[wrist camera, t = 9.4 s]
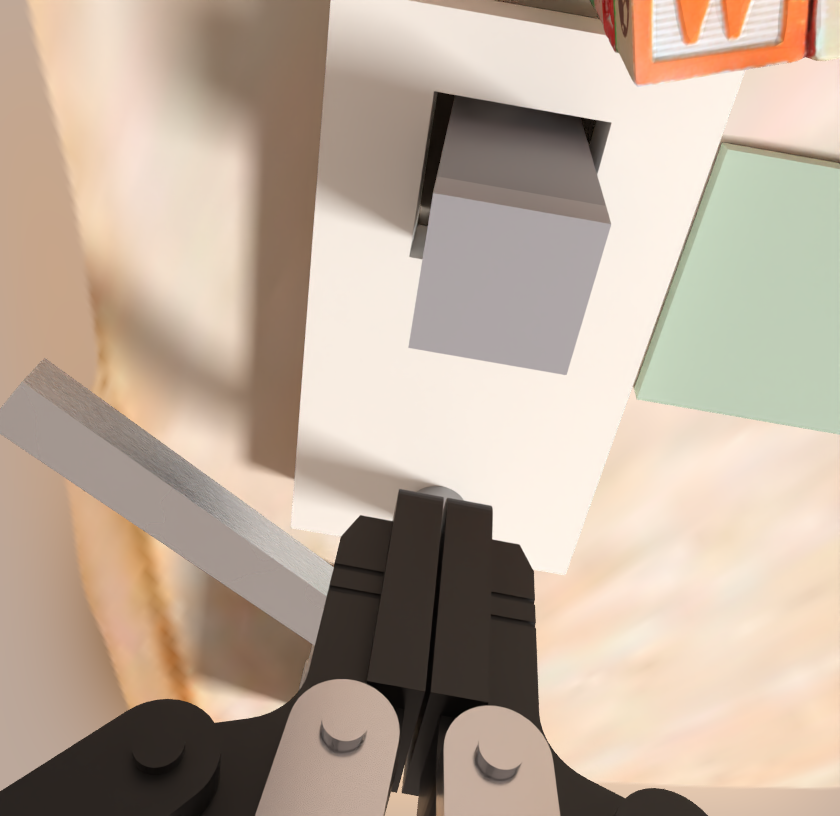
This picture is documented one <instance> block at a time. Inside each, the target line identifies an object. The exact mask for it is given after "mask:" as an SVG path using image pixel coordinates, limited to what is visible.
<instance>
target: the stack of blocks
mask: <svg viewBox="0 0 840 816" xmlns="http://www.w3.org/2000/svg"><path fill="white" fill-rule="evenodd" d="M590 1H591V4H592V5H593V7H594V8H595V10H597V13H598V15H599V17H600V20H601V22H602V24H603V26H604V31H605V34H606V36H607V38H609V42H610V44H611V46H612V48H613V50H614V52H616V53H619V54H620V56H621V58H622V60H623V62H624V64H625V67H626V69H627V71H628V73H629V75H630V77H631V79H632V81H633V83H634V84H635V85H636V86H637V87H642V86H649V85H656V84H663V83H669V82H675V81H680V80H686V79H692V78H698V77H704V76H710V75H716V74H722V73H728V72H735V71H742V70H748V69H753V68H760V67H766V66H772V65H779V64H785V63H791V62H795V61H798V60H800V59H802V58H804V57H807V58H810V59H813V60H816V61H828V60H833V59H838V58H840V0H590Z"/></svg>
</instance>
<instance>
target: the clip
mask: <svg viewBox="0 0 840 816" xmlns="http://www.w3.org/2000/svg"><path fill="white" fill-rule="evenodd" d="M0 434H1V435H2V436H4V437H5V438H7V439H8V440H10V441H11V442H13V443H14V444H16V445H18V446H19V447H20V448H22V449H23V450H25V451H26V452H28V453H29V454H31V455H32V456H34V457H35V458H37V459H38V460H40V461H41V462H42V463H44V464H46V465H47V466H48V467H50V468H51V469H53V470H54V471H56V472H57V473H59V474H60V475H62V476H63V477H65V478H66V479H68V480H69V481H71V482H72V483H74V484H75V485H77V486H78V487H80V488H81V489H83V490H84V491H86V492H87V493H89V494H90V495H92V496H93V497H94V498H96V499H97V500H99V501H100V502H102V503H103V504H105V505H106V506H108V507H109V508H111V509H112V510H114V511H115V512H117V513H118V514H120V515H121V516H123V517H124V518H126V519H127V520H129V521H130V522H132V523H133V524H135V525H136V526H138V527H139V528H141V529H142V530H144V531H145V532H146V533H148V534H149V535H151V536H152V537H154V538H155V539H157V540H158V541H160V542H161V543H163V544H164V545H166V546H167V547H169V548H170V549H172V550H173V551H175V552H176V553H178V554H179V555H181V556H182V557H184V558H185V559H187V560H188V561H190V562H191V563H193V564H194V565H196V566H197V567H198V568H200V569H201V570H203V571H204V572H206V573H207V574H209V575H210V576H212V577H213V578H215V579H216V580H218V581H219V582H221V583H222V584H224V585H225V586H227V587H228V588H230V589H231V590H233V591H234V592H236V593H237V594H239V595H240V596H242V597H243V598H245V599H246V600H247V601H249V602H250V603H252V604H253V605H255V606H256V607H258V608H259V609H261V610H262V611H264V612H265V613H267V614H268V615H270V616H271V617H273V618H274V619H276V620H277V621H279V622H280V623H282V624H283V625H285V626H286V627H288V628H289V629H291V630H292V631H294V632H295V633H297V634H298V635H299V636H301V637H302V638H304V639H305V640H307V641H308V642H310V643H311V644H313V645H314V646H315V643H316V638H317V634H318V630H319V626H320V622H321V618H322V614H323V610H324V605H325V601H326V597H327V593H328V590H329V585H330V581H331V576H332V572H333V568H334V567H333V566H331V565H330V564H329V563H327V562H326V561H324V560H323V559H322V558H320V557H319V556H318V555H316V554H315V553H313V552H312V551H311V550H309V549H308V548H307V547H305V546H304V545H302V544H301V543H300V542H298V541H297V540H295V539H294V538H293V537H291V536H290V535H289V534H287V533H286V532H284V531H283V530H282V529H280V528H279V527H277V526H276V525H275V524H273V523H272V522H271V521H269V520H268V519H266V518H265V517H264V516H262V515H261V514H260V513H258V512H257V511H255V510H254V509H253V508H251V507H250V506H248V505H247V504H246V503H244V502H243V501H242V500H240V499H239V498H237V497H236V496H235V495H233V494H232V493H231V492H229V491H228V490H226V489H225V488H224V487H222V486H221V485H219V484H218V483H217V482H215V481H214V480H213V479H211V478H210V477H208V476H207V475H206V474H204V473H203V472H201V471H200V470H199V469H197V468H196V467H195V466H193V465H192V464H190V463H189V462H188V461H186V460H185V459H184V458H182V457H181V456H179V455H178V454H177V453H175V452H174V451H172V450H171V449H170V448H168V447H167V446H166V445H164V444H163V443H161V442H160V441H159V440H157V439H156V438H155V437H153V436H152V435H150V434H149V433H148V432H146V431H145V430H143V429H142V428H141V427H139V426H138V425H137V424H135V423H134V422H132V421H131V420H130V419H128V418H127V417H126V416H124V415H123V414H121V413H120V412H119V411H117V410H116V409H114V408H113V407H112V406H110V405H109V404H108V403H106V402H105V401H103V400H102V399H101V398H99V397H98V396H96V395H95V394H94V393H92V392H91V391H90V390H88V389H87V388H85V387H84V386H83V385H81V384H80V383H78V382H77V381H76V380H74V379H73V378H72V377H70V376H69V375H67V374H66V373H65V372H63V371H62V370H60V369H59V368H58V367H56V366H55V365H54V364H52V363H51V362H50V361H48V360H47V359H45V358H44V359H43V360H42V361H41V362H40V363H39V364H38V365H37V366H36V367H35V369H34V370H33V371H32V372H31V373H30V374H29V375H28V376H27V377H26V378H25V379H24V380H23V381H22V382H21V384H20V385H19V386H18V387H17V389H16V390H15V391H14V392H13V394H12V395H11V396H10V397H9V398H8V400H7V401H6V402H5V403H4V405H3V406H2V407H1V408H0Z"/></svg>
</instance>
